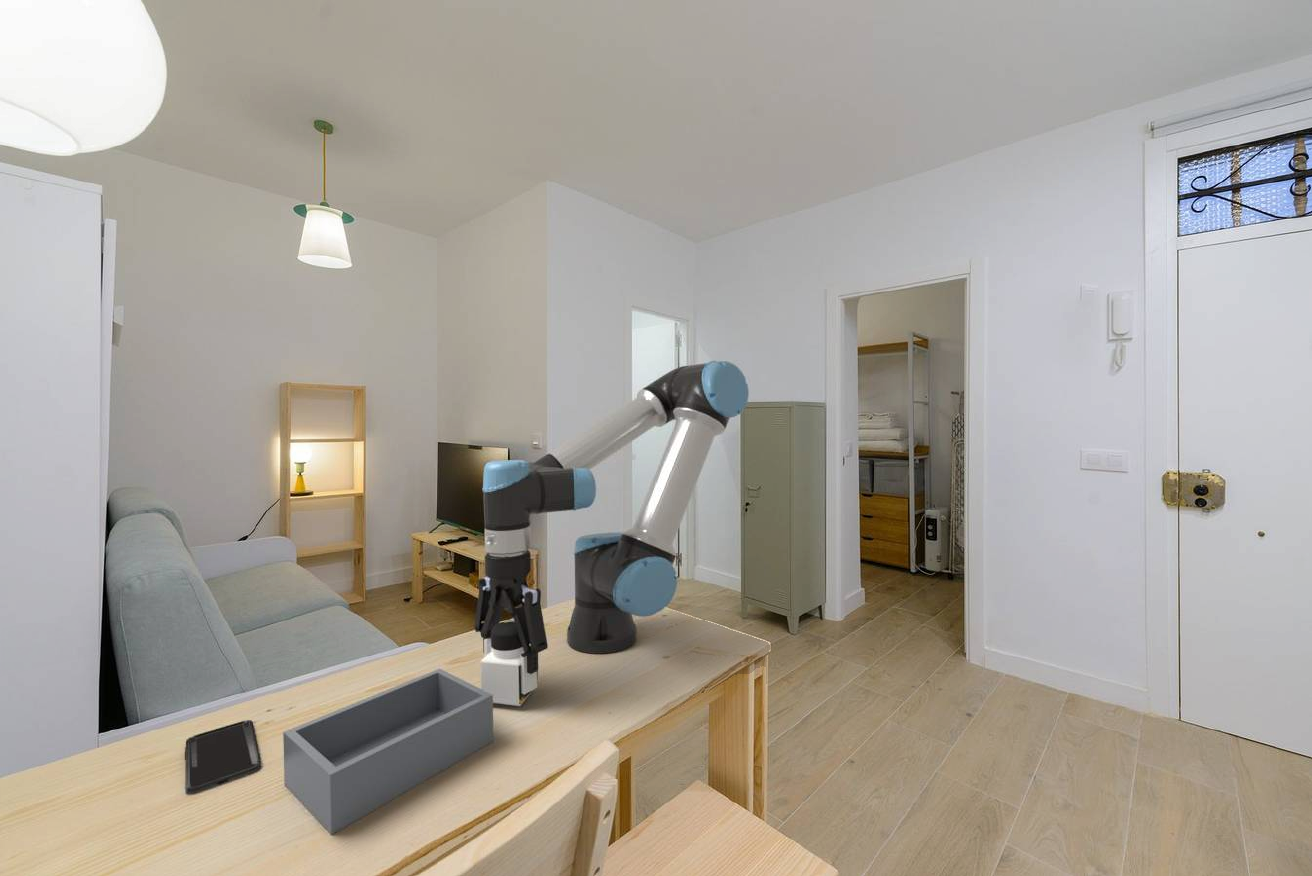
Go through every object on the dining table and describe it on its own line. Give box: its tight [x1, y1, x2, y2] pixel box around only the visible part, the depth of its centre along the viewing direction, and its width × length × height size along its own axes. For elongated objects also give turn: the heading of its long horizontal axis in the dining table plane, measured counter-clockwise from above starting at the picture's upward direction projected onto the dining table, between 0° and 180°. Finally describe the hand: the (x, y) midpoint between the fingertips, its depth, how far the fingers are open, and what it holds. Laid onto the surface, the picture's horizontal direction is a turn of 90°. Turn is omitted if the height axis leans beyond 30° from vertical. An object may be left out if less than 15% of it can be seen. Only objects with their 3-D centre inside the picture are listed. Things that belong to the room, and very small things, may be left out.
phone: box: [184, 719, 262, 796], centre depth 74 cm, size 8×1×15 cm
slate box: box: [282, 668, 494, 836], centre depth 73 cm, size 22×14×7 cm, turn 143°
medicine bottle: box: [480, 619, 539, 707], centre depth 90 cm, size 7×7×12 cm
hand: (510, 681), depth 90 cm, fingers closed on medicine bottle, 9 cm apart
